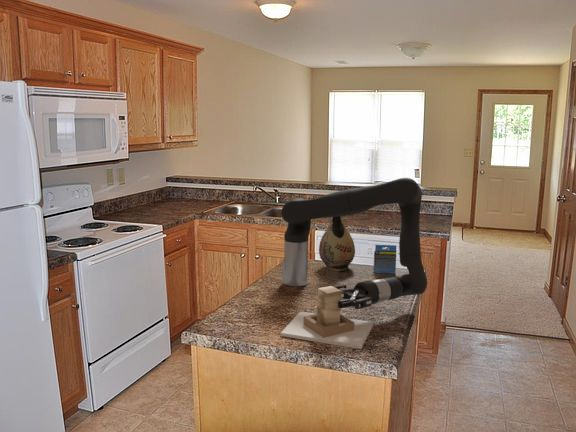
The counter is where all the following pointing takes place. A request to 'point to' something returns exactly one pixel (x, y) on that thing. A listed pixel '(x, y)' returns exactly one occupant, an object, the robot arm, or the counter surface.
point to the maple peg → (328, 306)
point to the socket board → (336, 339)
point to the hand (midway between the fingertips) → (330, 300)
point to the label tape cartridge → (385, 259)
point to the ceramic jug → (337, 246)
